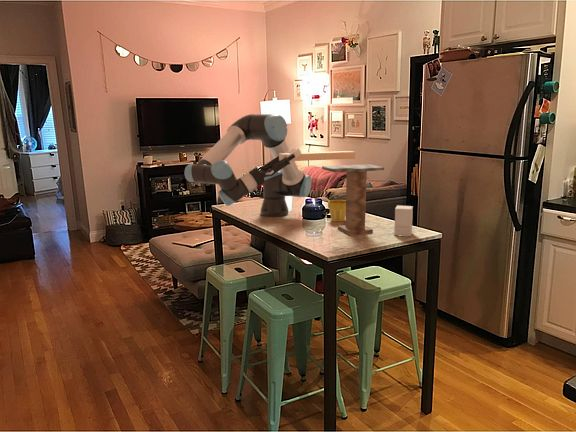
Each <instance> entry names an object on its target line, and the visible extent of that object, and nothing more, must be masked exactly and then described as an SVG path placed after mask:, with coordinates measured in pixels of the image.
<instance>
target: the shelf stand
mask: <svg viewBox="0 0 576 432" xmlns="http://www.w3.org/2000/svg"><path fill="white" fill-rule="evenodd" d="M321 169H322V170H324V171H328V172H331V173H346V178H345V179H346V181H345V184H346V187H345V190H346V191H345V192H346V193H345V200H346V216H345V224H343V225H337V230H339V231H340V232H342V233H344V234H346V235H348V236H356V235H357V236H358V235H366V234H373V232H374V230H373V228H370V227H368V226H366V207H367V206H366V204H367V202H366V201H367V200H366V199H367V175H368V172H374V171H375V172H376V171H385V167H384V166H381V165H380V166H379V165H376V164H369V163H363V164H346V165H345V164H344V165H324V166H323V165H322V166H321Z"/></svg>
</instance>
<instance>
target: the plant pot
mask: <svg viewBox="0 0 576 432" xmlns="http://www.w3.org/2000/svg"><path fill="white" fill-rule="evenodd" d="M327 209H329V214H330V219H331V221H332V222H334V223H335V222H337V223H338V222H341V223H342V222H344V221H346V199H332V200H328V202H327Z"/></svg>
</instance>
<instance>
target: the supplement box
mask: <svg viewBox="0 0 576 432" xmlns="http://www.w3.org/2000/svg"><path fill="white" fill-rule="evenodd" d="M413 209H414V206H413V205H412V206H411V205H399V204H397V205H396V207H395V208H394V235H393V236H395V235H402V236H401V237H408V236H412V234H411V233H413V213H414V212H413Z"/></svg>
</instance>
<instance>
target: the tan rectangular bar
mask: <svg viewBox="0 0 576 432" xmlns="http://www.w3.org/2000/svg"><path fill="white" fill-rule="evenodd" d="M301 153H302V154H301V155H299V156H298V157H296V158H295V159H293V160H292V161H295V162H304V161H305V162H306V161H309V162H310V161H328V160H330V161H332V160H334V161H335V160H353V159H356V151H354V150H353V151H352V150H344V151H342V150H341V151H339V150H338V151H317V152H316V151H314V152H313V151H312V152H301ZM289 154H290V153H279V161H280V160H282V159H284V158H285V157H286V156H287V155H289Z"/></svg>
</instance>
